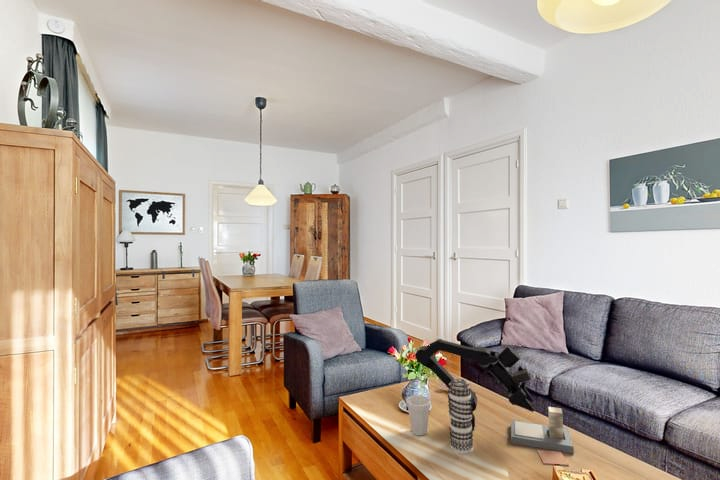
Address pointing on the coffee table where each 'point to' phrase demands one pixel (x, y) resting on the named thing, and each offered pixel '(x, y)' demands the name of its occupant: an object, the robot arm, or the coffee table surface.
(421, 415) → the cup
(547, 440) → the puzzle board
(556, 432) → the block
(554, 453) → the pad
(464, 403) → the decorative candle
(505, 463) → the coffee table surface
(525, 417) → the coffee table surface
